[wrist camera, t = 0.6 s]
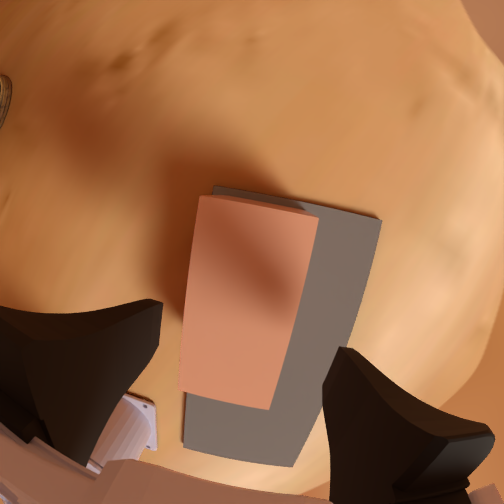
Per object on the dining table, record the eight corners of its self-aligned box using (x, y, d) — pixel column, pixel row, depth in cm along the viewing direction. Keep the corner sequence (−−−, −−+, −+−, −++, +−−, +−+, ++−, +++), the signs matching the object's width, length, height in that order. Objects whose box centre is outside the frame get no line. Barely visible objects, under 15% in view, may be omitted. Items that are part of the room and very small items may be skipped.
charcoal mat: (184, 444, 24) (183, 447, 24) (215, 185, 19) (213, 185, 18) (292, 464, 24) (292, 467, 23) (379, 219, 18) (382, 220, 18)
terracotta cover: (201, 342, 21) (177, 389, 15) (224, 195, 19) (199, 195, 13) (272, 357, 21) (268, 410, 15) (306, 210, 18) (318, 218, 12)
